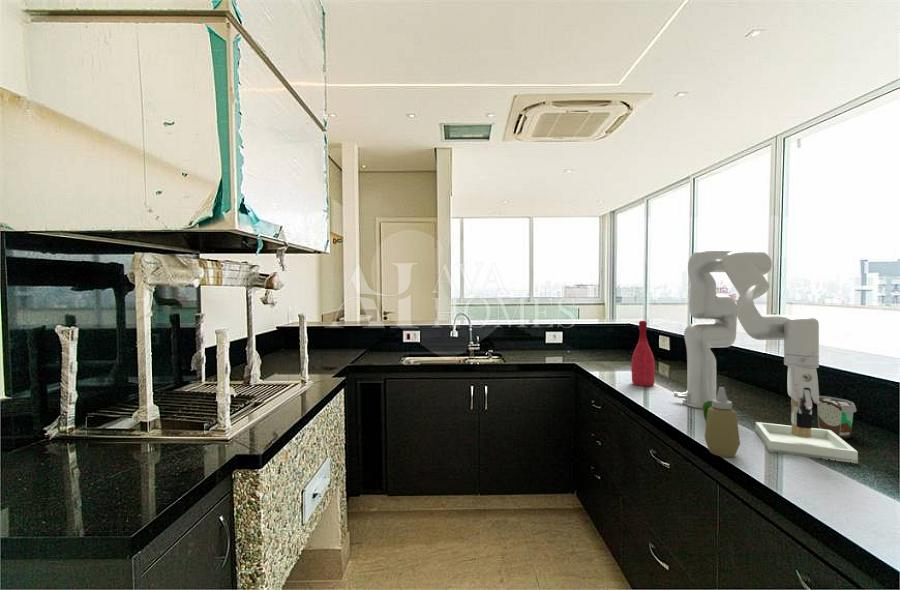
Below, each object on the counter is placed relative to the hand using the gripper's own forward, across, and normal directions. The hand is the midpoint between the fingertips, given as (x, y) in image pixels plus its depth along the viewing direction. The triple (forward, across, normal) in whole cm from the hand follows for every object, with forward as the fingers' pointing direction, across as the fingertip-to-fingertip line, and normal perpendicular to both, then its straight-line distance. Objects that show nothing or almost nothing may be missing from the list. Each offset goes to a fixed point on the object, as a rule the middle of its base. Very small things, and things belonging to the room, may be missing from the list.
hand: (801, 424), depth 117 cm
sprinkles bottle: (+4, 0, 0) cm, 4 cm away
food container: (+6, +18, -14) cm, 24 cm away
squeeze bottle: (+6, -16, +21) cm, 27 cm away
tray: (+6, 0, 0) cm, 6 cm away
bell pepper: (+6, +8, +19) cm, 22 cm away
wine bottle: (+6, +65, +42) cm, 78 cm away
